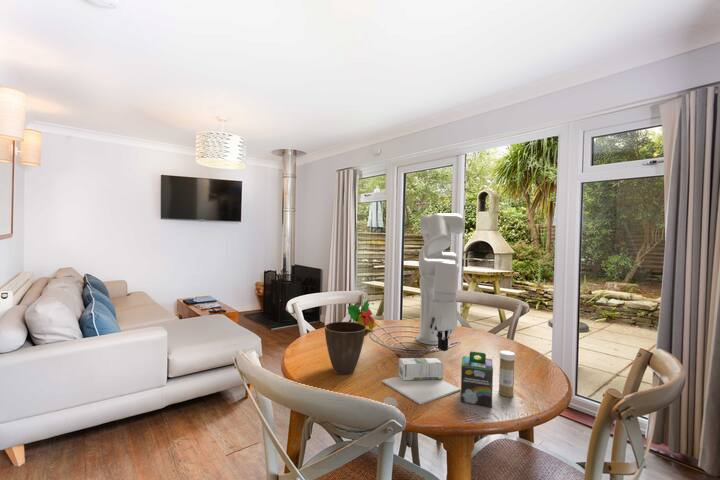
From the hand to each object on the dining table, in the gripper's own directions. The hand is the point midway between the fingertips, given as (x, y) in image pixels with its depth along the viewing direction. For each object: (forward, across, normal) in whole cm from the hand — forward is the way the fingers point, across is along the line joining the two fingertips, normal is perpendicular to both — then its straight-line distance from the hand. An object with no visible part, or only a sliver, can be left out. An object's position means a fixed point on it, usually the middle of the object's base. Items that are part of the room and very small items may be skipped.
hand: (442, 349), depth 120 cm
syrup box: (+7, -1, -1) cm, 7 cm away
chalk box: (+11, +1, +15) cm, 19 cm away
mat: (+11, +10, 0) cm, 15 cm away
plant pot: (+11, +25, -24) cm, 36 cm away
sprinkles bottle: (+11, -10, +18) cm, 23 cm away
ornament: (+11, -10, -61) cm, 63 cm away
